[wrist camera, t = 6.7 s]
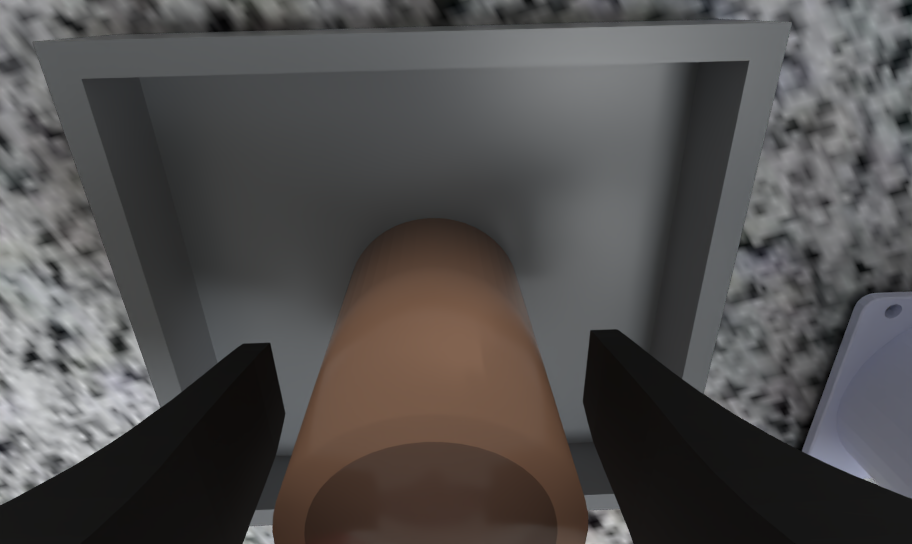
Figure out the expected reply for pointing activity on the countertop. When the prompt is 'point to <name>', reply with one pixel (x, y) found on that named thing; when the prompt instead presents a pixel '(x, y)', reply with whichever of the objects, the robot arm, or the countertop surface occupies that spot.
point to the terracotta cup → (432, 407)
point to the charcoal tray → (420, 183)
